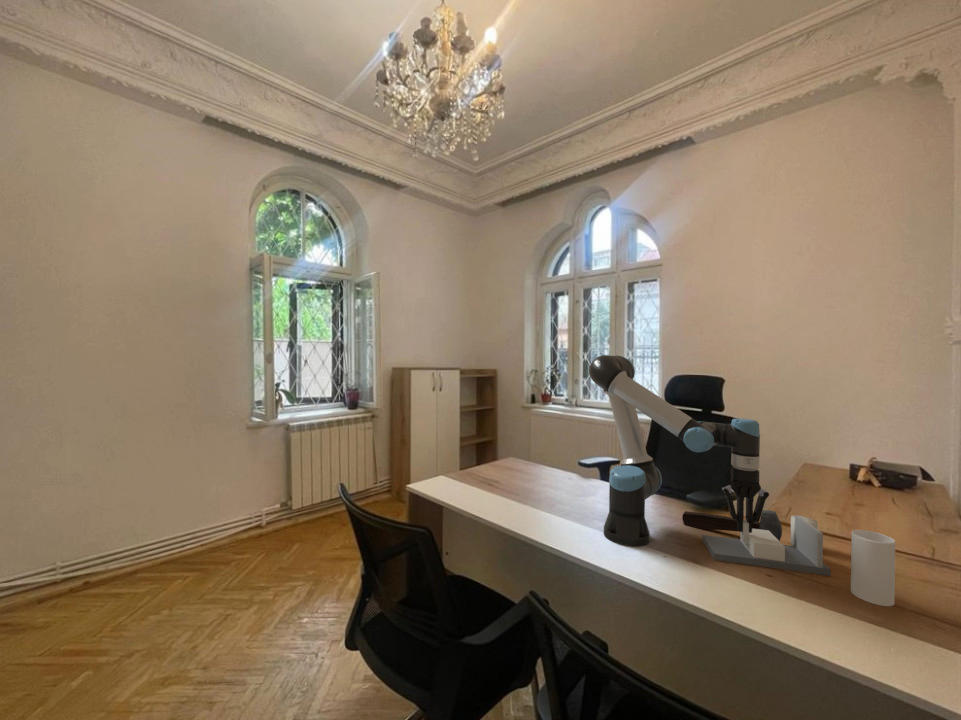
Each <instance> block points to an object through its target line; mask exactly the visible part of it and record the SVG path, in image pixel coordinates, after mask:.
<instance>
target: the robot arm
mask: <svg viewBox="0 0 961 720" xmlns="http://www.w3.org/2000/svg"><path fill="white" fill-rule="evenodd" d="M633 364H634V363H632V362H631V360H630V359H628V358H627V357H625V356H621V355H618V354H617V355H608V354H607V355H606V354H605V355H599V356H597V357H595V358H594V359H593V360H592V361H591V363H590V365H589V370H588V372H589V373H588V374H589V376H590V379H591V380H592V382H594V384H595V385H596V386H598V387H600V388H601V389H602V390H603V393H604V394H605V395H607V396H608V399H609V402H610V407H611V411H612V414H613V418H614V423H615V427H616V431H617V436H618V440H619V443H620V448H621V449H620V450H621V452H622V456H623V457H622V460H621V461H620V465H618V466H615V467H613V468H612V469H611V470H610V471H609V479H608V482H609V483H608V484H609V485H608V486H609V493H608V494H609V500H608V501H609V502H608V505H609V509H608V514H607V516H606V520H605V523H604V524H603V537H604V536H605V538H606V539H607V540H609V541H612V542H613V543H616V544H619V545H622V546H628V547H630V546H631V547H641V546H643V547H644V546H646V545H647V544H649V543H650V542H651V541H650V540H651V537H650V536H651V534H650V530H649V527H648V524H647V519H646V515H645V514H646V512H645V511H646V500H647V499H649V498H650V497H652V496H654V495H655V494H656V493H657V492H658V491H659V490H660V488H661V486H662V483H663V478H662V474H661V471H660V469H658V467H656V466H655V463H654V458H653V457H652V456H650V455H649V454H648V452H647V449H646V445H645V441H644V440H645V439H644V436H643V432H642V429H641V423H640V420H639V416H638V412H637V410H638V411H640V413H642V414H644V415H645V416H646V417H648V418H649V419H651V420H653V421H654V422H656V424H658V425H659V426H661V427H663V428H664V429H665V430H667V431H668V432H670V433H671V434H673V436H675V437H677V438H679V439H680V440H681V441H682V442H683V443H684V445H685V447H686V448H687V449H688V450H689V451H692V452H695V453H703V452H708V451H709V450H711V449H712V448H713V447H714V446H717V447H725V448H731V450H730V451H731V460H730V465H731V466H732V467H731V468H730V469H731V470H730V482H728V483H729V484H728V485H726V486H722V487H721V490H722V492H723V493H724V496H725V498H726V503H727V504H726V505H727V507H728V510H729V515H730V517H731V518H733V519H736V520H737V529H738V531H739V534H740V535H739V536H740V540H741V541H742V542H743V543H744V544H749V533H752V524H753V523H754V522H760V518H761V514H762V510H763V509H764V507H765V504H766V500H767V498H769V496H770V493H769V492H768V491H766V490H764V489H763V488H762V486H761V484H760V470H759V469H760V451H761V450H760V446H761V445H760V443H761V434H760V423H759V422H758V420H755V419H750V418H732V420H731V423H721V422H720V423H719V422H713V421H711V422H709V421H704V420H702V421H701V420H699V421H697V420H695V419H693V417H691V416H689V415H688V414H686V413H685V412H683V411H682V410H680V409H679V408H677V407H675V406H674V405H672V404H671V403H669V402H668V401H667V400H665V399H664V398H662V397H660V396H659V395H657V394H656V393H654V392H653V391H651V390H650V389H648V388H647V387H645V386H643V385H641V383H639V382H637V381H636V380H635V379H634V378H635V375H636V374H635V373H636V371H635V369H636V368H635V366H634V365H633ZM732 492H734V493H735V495H736V496H735V497H736V508H735V505H734V499H733V497H732ZM757 494H758V496H757V499H756V503H755V505H754V497H756V495H757ZM744 502H745V503H744ZM744 504H745V505H744ZM744 506H745V508H744ZM744 509H745V510H744ZM744 511H745V517H744ZM744 518H745V519H744ZM738 531H737V532H738Z"/></svg>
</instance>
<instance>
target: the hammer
mask: <svg viewBox="0 0 961 720" xmlns="http://www.w3.org/2000/svg"><path fill="white" fill-rule="evenodd" d="M681 517H682V523H683V525H684V526H686V527H689V528H690V527H691V528H696V529H702V530H703V529H704V530H716V531H727V532H739V531H738V529H737V520H736V519H733V518H732V517H731V516H724V515H718V514H711V513H706V512H700V511H699V512H697V511H684V512H683V514H682V516H681ZM752 529H760V530H769V531H770V532H771V533H772V534H773V535H774V536H775V537H776V538H777V539H778V540H779V541H780V542H781V539H782V536H783V528H782V523H781V521H780V519H779V517H778V514H777V512H776V511H774V510H770V509H769V510H765V509H764V510H762V513H761V517H760V520H759V522H754V523H753V524H752ZM739 533H740V532H739Z"/></svg>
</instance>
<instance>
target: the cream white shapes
mask: <svg viewBox="0 0 961 720" xmlns="http://www.w3.org/2000/svg"><path fill="white" fill-rule="evenodd" d="M799 516H800V517H801V518H803V519H804V520H805V521H807V522H808V523H810V524H811V525H812V526H814V527H815V528H816V529H818V528H819V527H818V526H819V522H818V520H815V519H814V518H811V517H808V516H807V517H806V516H803V515H799ZM818 530H819V529H818ZM794 532H795V515H791V516H790V546H794Z"/></svg>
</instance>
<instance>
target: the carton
mask: <svg viewBox="0 0 961 720" xmlns="http://www.w3.org/2000/svg"><path fill="white" fill-rule="evenodd" d="M740 541H741V540H740ZM741 542H742V541H741ZM742 543H743V542H742ZM743 544H744V543H743ZM784 545H785V544H783V543H782V542H781V540H780V541H779V540H778V539H777V538H776V537H775V536H774V535H773V534H772V533H771V532H770V531H769V530H760V529H752V533H749V544H744V546H745V547H746V548H747V550H748V551H749V552H750V553H751V555H752V556H753V557H754V558H762V559H769V560H776V561H783V562H785V546H784Z"/></svg>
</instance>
